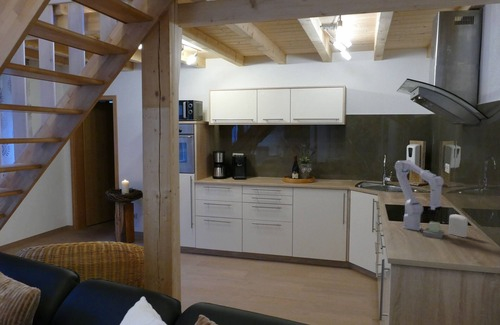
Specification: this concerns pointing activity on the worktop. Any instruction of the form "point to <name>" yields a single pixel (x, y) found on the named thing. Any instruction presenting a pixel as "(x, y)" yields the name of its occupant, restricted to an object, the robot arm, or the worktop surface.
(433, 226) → the green cube
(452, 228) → the photo printer
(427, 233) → the grey block
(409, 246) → the worktop surface
